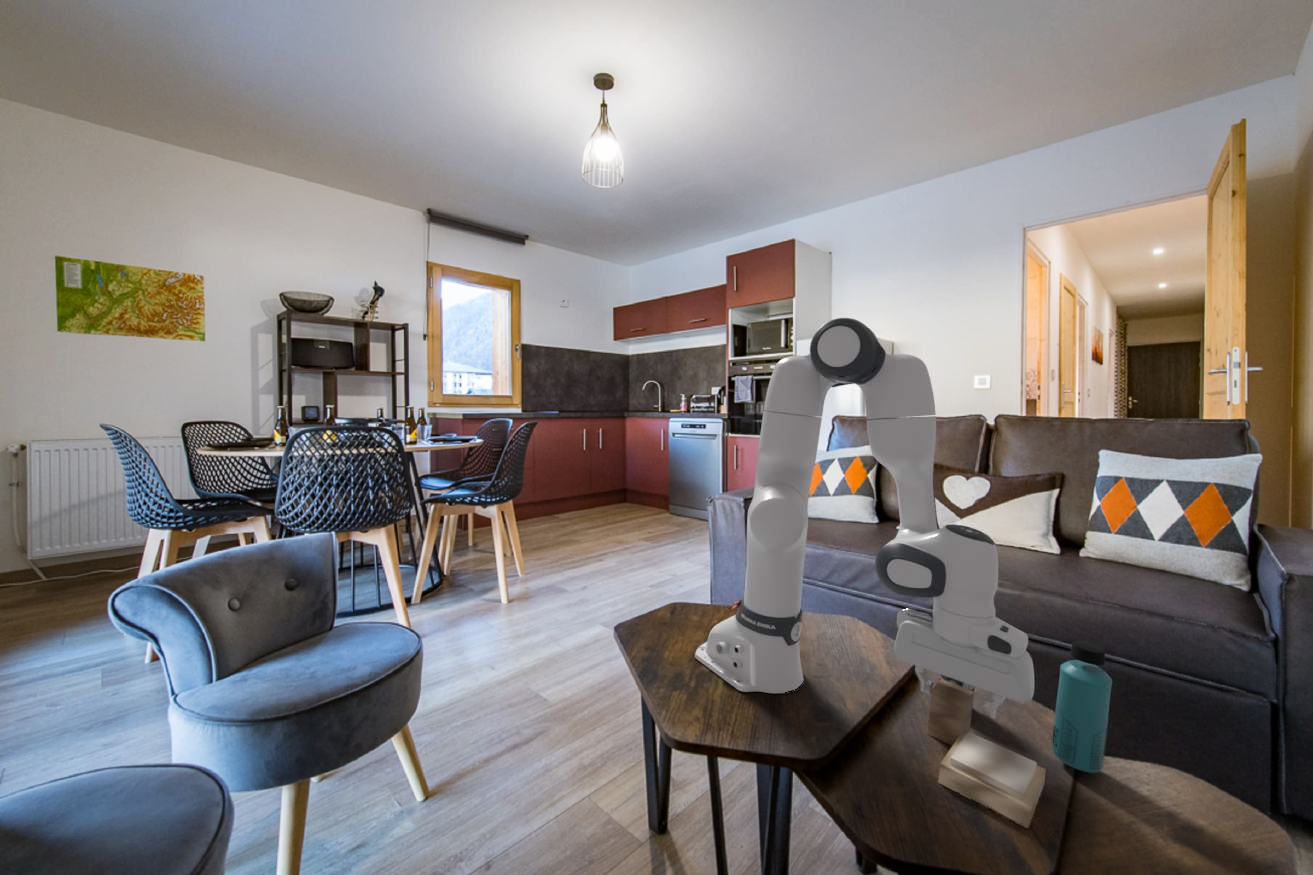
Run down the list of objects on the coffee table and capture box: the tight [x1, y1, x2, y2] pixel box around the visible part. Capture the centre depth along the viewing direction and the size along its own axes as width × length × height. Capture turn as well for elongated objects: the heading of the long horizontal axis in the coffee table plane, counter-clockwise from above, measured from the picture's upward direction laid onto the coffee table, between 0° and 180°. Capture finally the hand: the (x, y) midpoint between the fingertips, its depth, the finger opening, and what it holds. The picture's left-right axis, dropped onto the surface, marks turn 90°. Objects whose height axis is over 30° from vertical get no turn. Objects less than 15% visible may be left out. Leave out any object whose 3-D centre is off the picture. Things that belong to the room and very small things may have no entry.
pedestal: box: [938, 731, 1047, 828], centre depth 76 cm, size 11×11×4 cm
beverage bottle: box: [1050, 640, 1113, 774], centre depth 80 cm, size 6×7×20 cm
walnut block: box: [927, 679, 975, 747], centre depth 87 cm, size 5×5×8 cm
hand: (956, 703), depth 86 cm, fingers open, 8 cm apart
